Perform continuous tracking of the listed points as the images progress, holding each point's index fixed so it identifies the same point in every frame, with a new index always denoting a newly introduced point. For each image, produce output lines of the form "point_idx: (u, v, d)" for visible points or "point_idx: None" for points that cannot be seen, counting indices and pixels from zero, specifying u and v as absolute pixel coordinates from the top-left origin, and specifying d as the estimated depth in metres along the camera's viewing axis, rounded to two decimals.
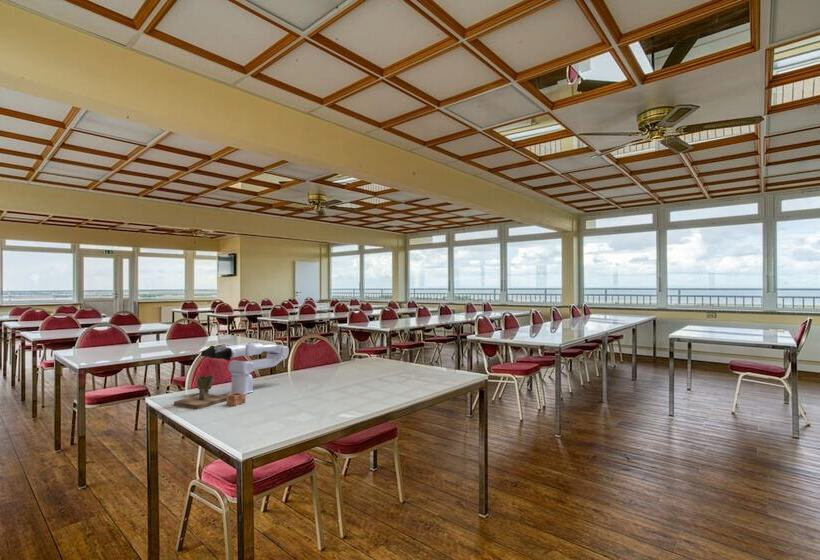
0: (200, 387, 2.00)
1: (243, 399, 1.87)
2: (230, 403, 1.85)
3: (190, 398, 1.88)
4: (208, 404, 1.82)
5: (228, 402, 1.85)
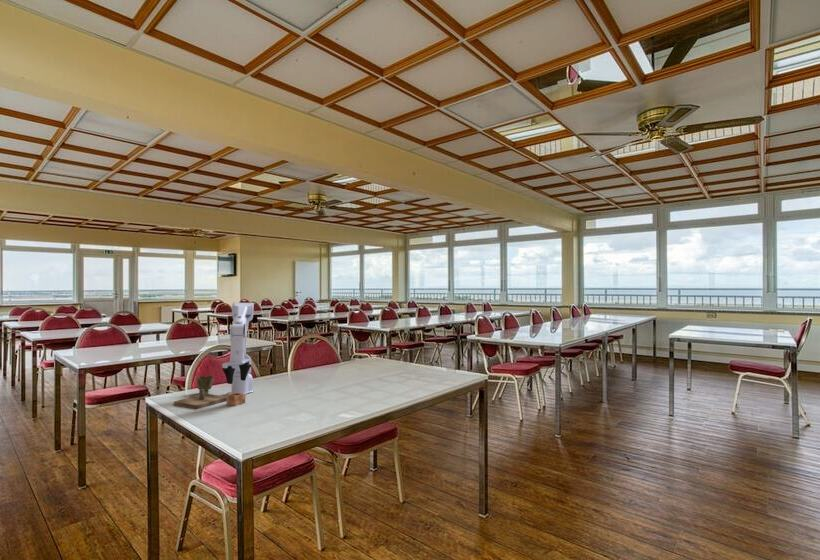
0: (200, 387, 2.00)
1: (243, 399, 1.87)
2: (230, 403, 1.85)
3: (190, 398, 1.88)
4: (208, 404, 1.82)
5: (228, 402, 1.85)
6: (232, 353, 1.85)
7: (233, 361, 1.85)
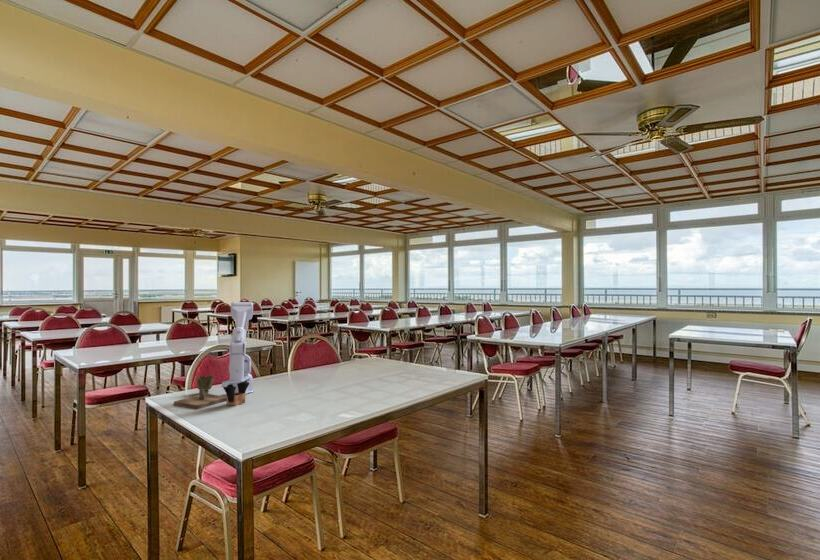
0: (200, 387, 2.00)
1: (243, 399, 1.87)
2: (230, 403, 1.85)
3: (190, 398, 1.88)
4: (208, 404, 1.82)
5: (228, 402, 1.85)
6: (231, 371, 1.85)
7: (232, 379, 1.84)
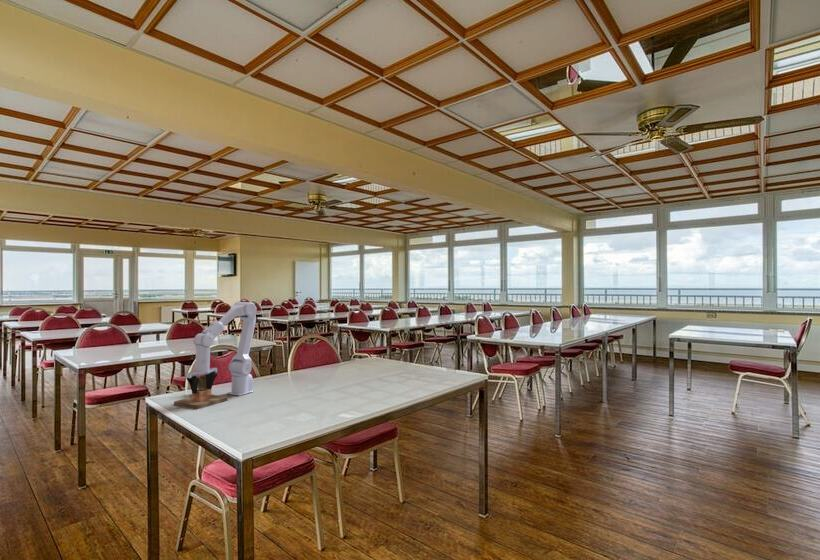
0: (200, 387, 2.00)
1: (209, 395, 1.87)
2: (195, 399, 1.85)
3: (190, 398, 1.88)
4: (208, 404, 1.82)
5: (193, 398, 1.85)
6: (197, 363, 1.85)
7: (198, 371, 1.84)
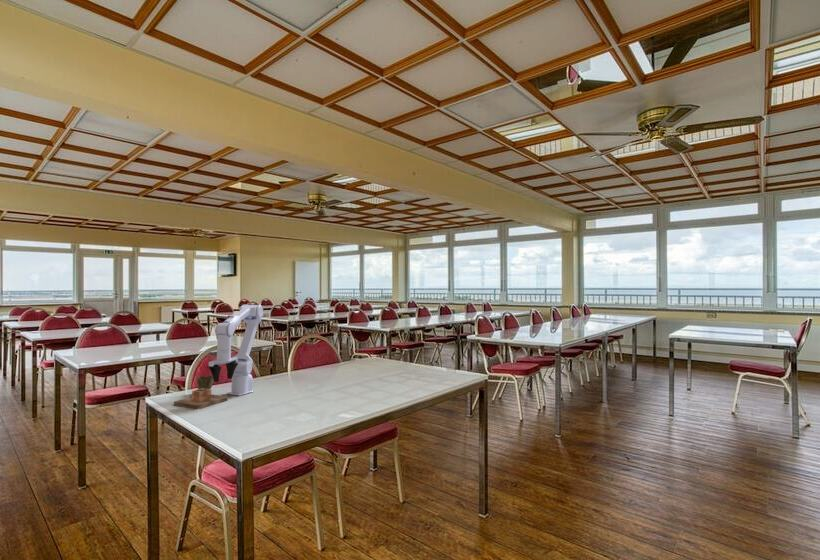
0: (200, 387, 2.00)
1: (209, 395, 1.87)
2: (195, 399, 1.85)
3: (190, 398, 1.88)
4: (208, 404, 1.82)
5: (193, 398, 1.85)
6: (218, 352, 1.88)
7: (219, 359, 1.88)
